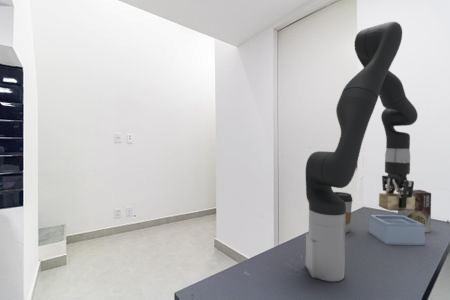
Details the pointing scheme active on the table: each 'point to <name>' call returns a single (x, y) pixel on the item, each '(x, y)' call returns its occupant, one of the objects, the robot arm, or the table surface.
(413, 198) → the small crate
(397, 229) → the base crate
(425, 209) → the coffee box
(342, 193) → the coffee cup
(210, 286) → the table surface
